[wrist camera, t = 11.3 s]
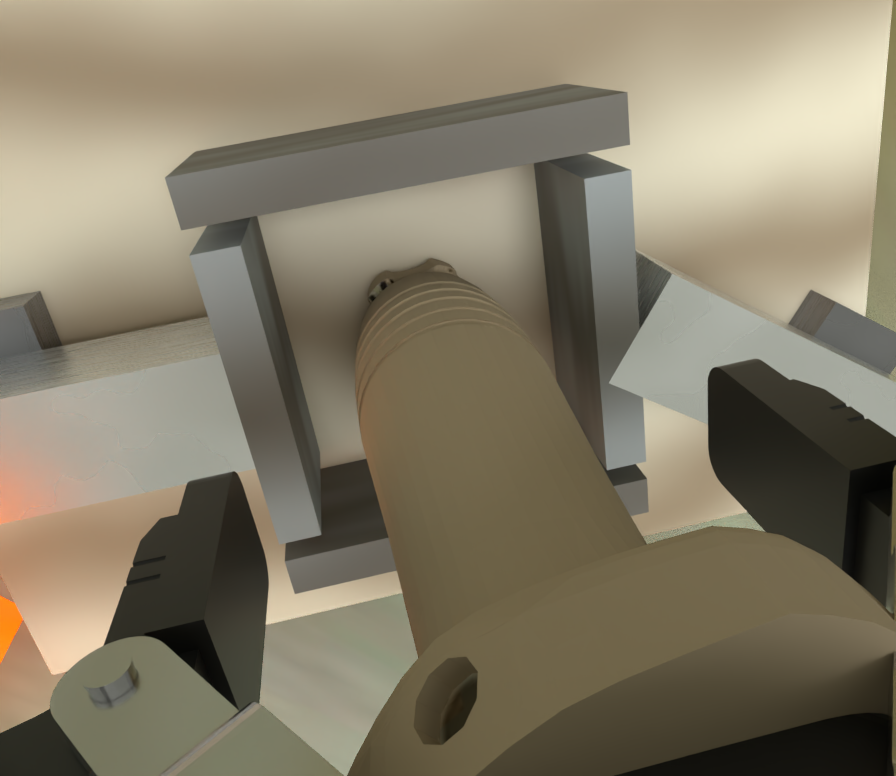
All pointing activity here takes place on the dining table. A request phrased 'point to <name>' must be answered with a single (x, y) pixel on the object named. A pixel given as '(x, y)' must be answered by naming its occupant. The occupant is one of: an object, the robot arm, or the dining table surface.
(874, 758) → the robot arm
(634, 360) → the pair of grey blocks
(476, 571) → the handle
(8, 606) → the orange juice
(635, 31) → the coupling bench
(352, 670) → the dining table surface
